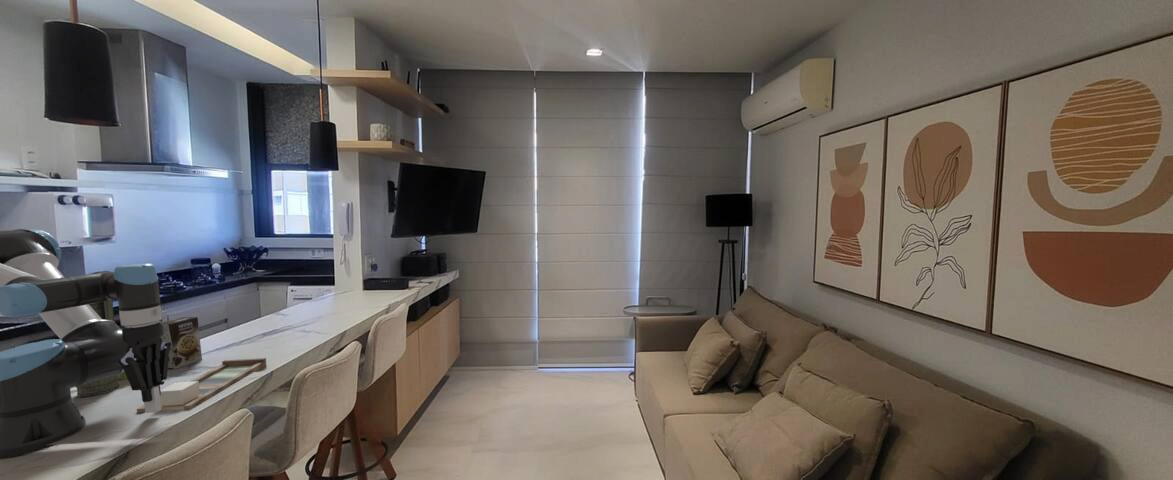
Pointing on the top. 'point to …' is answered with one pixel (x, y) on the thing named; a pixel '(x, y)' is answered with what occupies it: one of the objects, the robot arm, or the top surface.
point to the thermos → (108, 382)
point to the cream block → (179, 393)
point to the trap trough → (218, 380)
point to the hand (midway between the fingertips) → (153, 411)
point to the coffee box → (182, 341)
